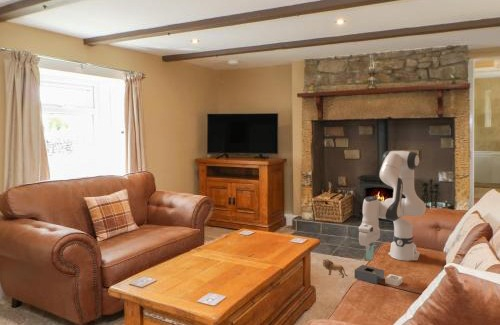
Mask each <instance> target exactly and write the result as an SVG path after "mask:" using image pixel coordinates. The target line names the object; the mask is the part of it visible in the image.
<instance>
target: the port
mask: <svg viewBox="0 0 500 325" xmlns="http://www.w3.org/2000/svg"><path fill="white" fill-rule="evenodd" d="M354 279H356V280H360V281H363V282H367V283H371V284H375V285H378V284H379V283H380V282H381V281H383V280H385V270H384V269H382V268H381V269H380V268H376V267H372V266H370V265H364V264H361V265H360V266H358V267H356V268H355V269H354Z"/></svg>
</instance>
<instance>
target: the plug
mask: <svg viewBox="0 0 500 325" xmlns="http://www.w3.org/2000/svg"><path fill="white" fill-rule="evenodd" d="M374 245H375V244H374ZM374 245H373V243H370V245H369V247H370V251H366V250H365V260H368V261H369V260H370V261H372V260H373V259H374V249H375V247H374Z"/></svg>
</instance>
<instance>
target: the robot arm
mask: <svg viewBox="0 0 500 325" xmlns="http://www.w3.org/2000/svg"><path fill="white" fill-rule="evenodd" d="M381 162H382V165H381V166H380V170H379V179H380V180H381V182H382V183H384V184H385V185H387V186H389V187H391V188H392V189H393V192H392V197H389V198H386V199H385V200H384V201H382V200H380V199H379V198H378V197H377V196H373V195H372V196H371V195H370V196H366V197H365V198H364V199H363V203H362V218H361V219H362V220H361V223H360V225H359V226H358V231H359V232H358V242H359V243H358V244H359V245H360V246H363V247H365V252H366V251H370V247H369V245H370V243H373V245H375V242H376V241H378V240H380V237H381V231H380V230H381V229H380V226H379V225H380V224H379V222H380V220H379V219H382V220H387V221H391V222H393V231H394V232H393V237H392V238H393V240H392V242H391V243H390V250H389V252H387V255H389V256H391V258H393V259H394V260H398V261H407V262H409V261H418V260H419V258H420V255H421V252H420V251H417V245H416V244H415V242H414V239H415V235H413V228H414V227H413V224H412V222H410V221H408V220H406V219H405V218H404V217H403V216H406V217H407V216H408V217H420V216H421V217H422V216H424V215H425V213H426V210H427V206H426V204H425V201H423V200H422V199H421V198H420V197H419V196H418V195H417V193H416V190H415V169H416V168H418V166H419V164H420V156H419V154H418V153H417V152H415V151H407V150H386V151H385V152H383V154H382V157H381ZM403 196H404V197H405V198H404V197H403Z"/></svg>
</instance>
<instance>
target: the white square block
mask: <svg viewBox="0 0 500 325" xmlns="http://www.w3.org/2000/svg"><path fill="white" fill-rule="evenodd" d="M403 279H404V278H403V276H400V275H396V274H392V273H390V274H388V275H386V277H384V280H385V281H384V283H385V284H388V285H390V286H395V287H399V286H400V285H401V284H402V283H403Z"/></svg>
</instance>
